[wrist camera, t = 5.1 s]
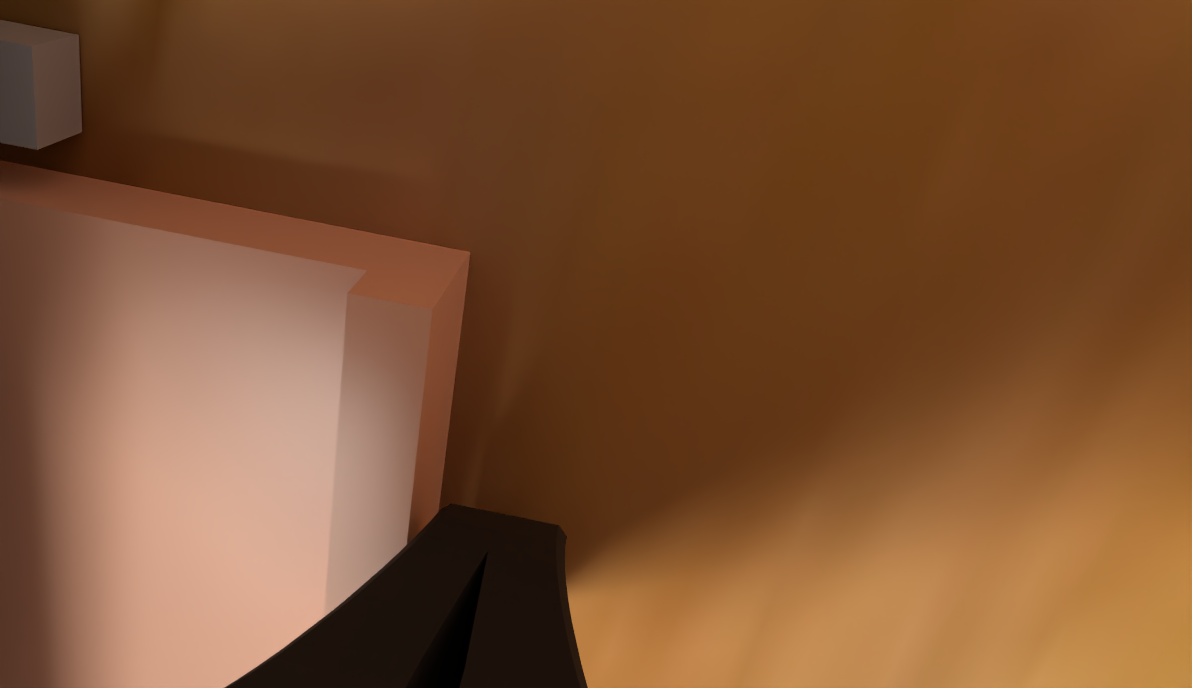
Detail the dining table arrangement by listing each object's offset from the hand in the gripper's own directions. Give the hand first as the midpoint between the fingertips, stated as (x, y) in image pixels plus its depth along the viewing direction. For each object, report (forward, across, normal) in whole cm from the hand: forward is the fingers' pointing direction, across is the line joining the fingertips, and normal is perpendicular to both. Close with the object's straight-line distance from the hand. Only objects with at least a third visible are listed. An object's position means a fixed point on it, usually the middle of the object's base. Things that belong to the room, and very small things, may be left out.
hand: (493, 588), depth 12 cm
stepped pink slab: (+1, +5, 0) cm, 6 cm away
